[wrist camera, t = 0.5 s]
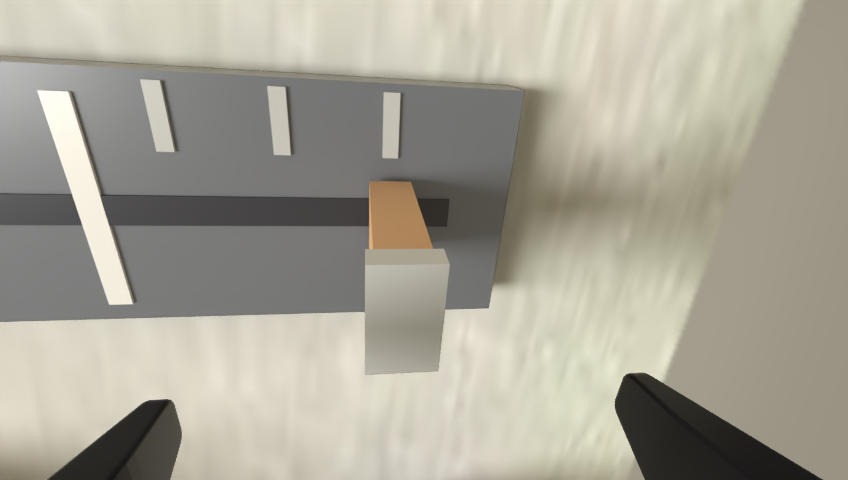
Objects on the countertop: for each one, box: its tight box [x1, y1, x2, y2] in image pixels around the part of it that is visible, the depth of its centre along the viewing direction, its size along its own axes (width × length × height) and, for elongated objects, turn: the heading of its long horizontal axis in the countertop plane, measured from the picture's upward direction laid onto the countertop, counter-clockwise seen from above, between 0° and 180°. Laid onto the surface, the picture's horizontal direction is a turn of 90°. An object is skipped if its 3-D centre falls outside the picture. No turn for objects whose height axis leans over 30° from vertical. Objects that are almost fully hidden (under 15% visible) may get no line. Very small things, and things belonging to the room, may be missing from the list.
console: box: [0, 56, 525, 322], centre depth 17 cm, size 10×22×2 cm, turn 86°
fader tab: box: [365, 181, 450, 375], centre depth 13 cm, size 3×2×7 cm, turn 176°
